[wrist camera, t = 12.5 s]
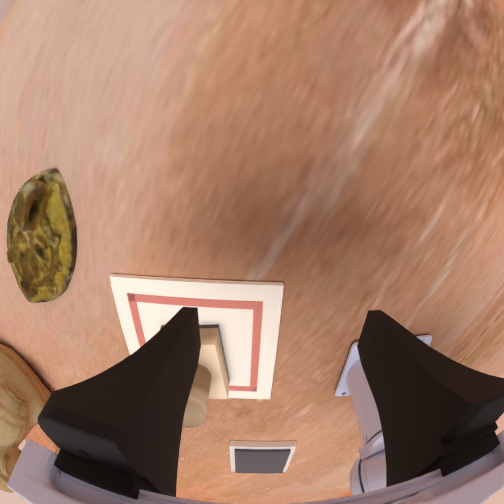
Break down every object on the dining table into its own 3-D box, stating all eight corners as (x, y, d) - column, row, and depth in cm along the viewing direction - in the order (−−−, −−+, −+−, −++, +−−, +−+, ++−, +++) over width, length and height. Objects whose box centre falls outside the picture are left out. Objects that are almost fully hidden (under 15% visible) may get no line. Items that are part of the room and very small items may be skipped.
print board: (282, 282, 21) (283, 286, 20) (269, 395, 26) (269, 399, 26) (111, 273, 21) (108, 276, 20) (142, 384, 26) (141, 387, 26)
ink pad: (295, 440, 31) (296, 449, 30) (285, 466, 35) (285, 474, 34) (229, 440, 31) (229, 449, 30) (231, 466, 35) (231, 473, 34)
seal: (72, 313, 25) (99, 185, 19) (55, 342, 20) (71, 203, 15) (10, 277, 22) (23, 149, 17) (-11, 300, 18) (-11, 160, 12)
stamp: (218, 324, 22) (207, 390, 16) (229, 379, 25) (224, 439, 18) (161, 325, 22) (135, 385, 16) (180, 378, 25) (166, 435, 18)
